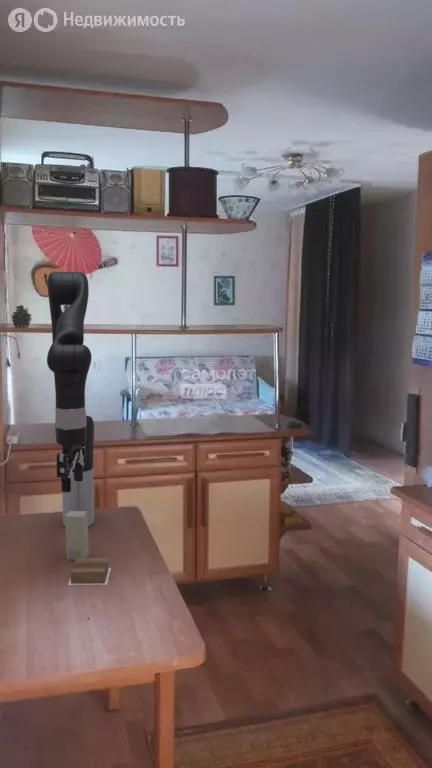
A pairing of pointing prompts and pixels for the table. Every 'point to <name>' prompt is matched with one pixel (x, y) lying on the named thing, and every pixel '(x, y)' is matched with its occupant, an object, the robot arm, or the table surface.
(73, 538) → the box
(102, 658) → the table surface
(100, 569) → the base block
